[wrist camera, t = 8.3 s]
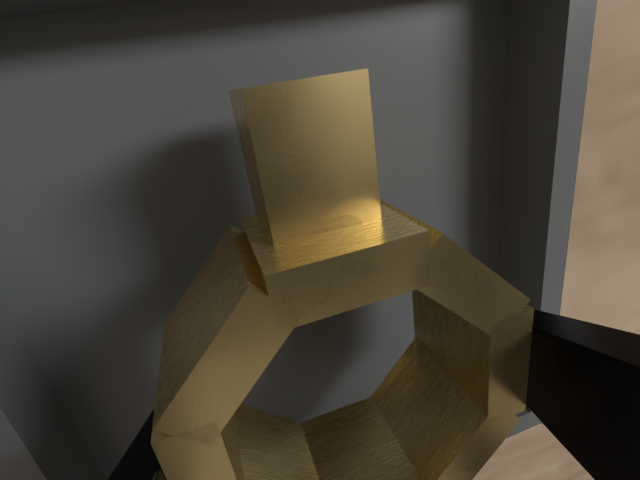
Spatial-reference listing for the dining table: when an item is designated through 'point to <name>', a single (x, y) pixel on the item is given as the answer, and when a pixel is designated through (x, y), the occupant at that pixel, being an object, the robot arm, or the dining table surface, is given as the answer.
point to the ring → (330, 299)
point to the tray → (234, 189)
